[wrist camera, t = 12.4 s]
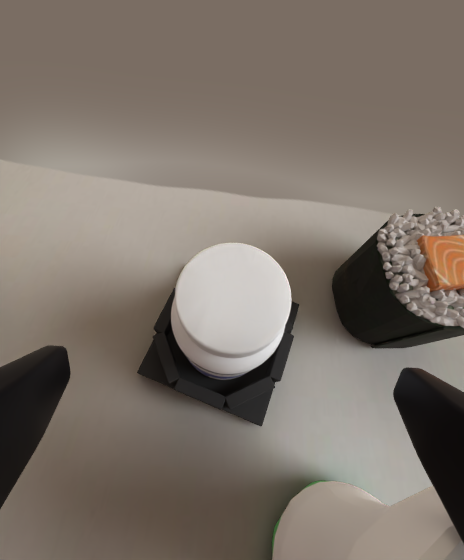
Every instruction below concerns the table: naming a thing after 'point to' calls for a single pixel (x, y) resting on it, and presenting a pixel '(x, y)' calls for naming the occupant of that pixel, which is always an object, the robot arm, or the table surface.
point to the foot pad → (218, 393)
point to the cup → (364, 526)
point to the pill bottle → (230, 309)
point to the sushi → (405, 282)
